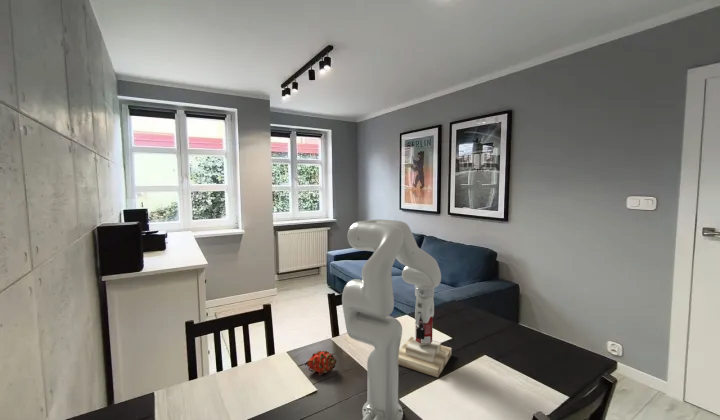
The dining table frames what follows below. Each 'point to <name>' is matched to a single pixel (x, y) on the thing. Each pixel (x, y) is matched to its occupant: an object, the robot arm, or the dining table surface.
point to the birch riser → (424, 357)
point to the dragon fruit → (321, 362)
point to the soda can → (426, 333)
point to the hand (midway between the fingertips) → (423, 334)
